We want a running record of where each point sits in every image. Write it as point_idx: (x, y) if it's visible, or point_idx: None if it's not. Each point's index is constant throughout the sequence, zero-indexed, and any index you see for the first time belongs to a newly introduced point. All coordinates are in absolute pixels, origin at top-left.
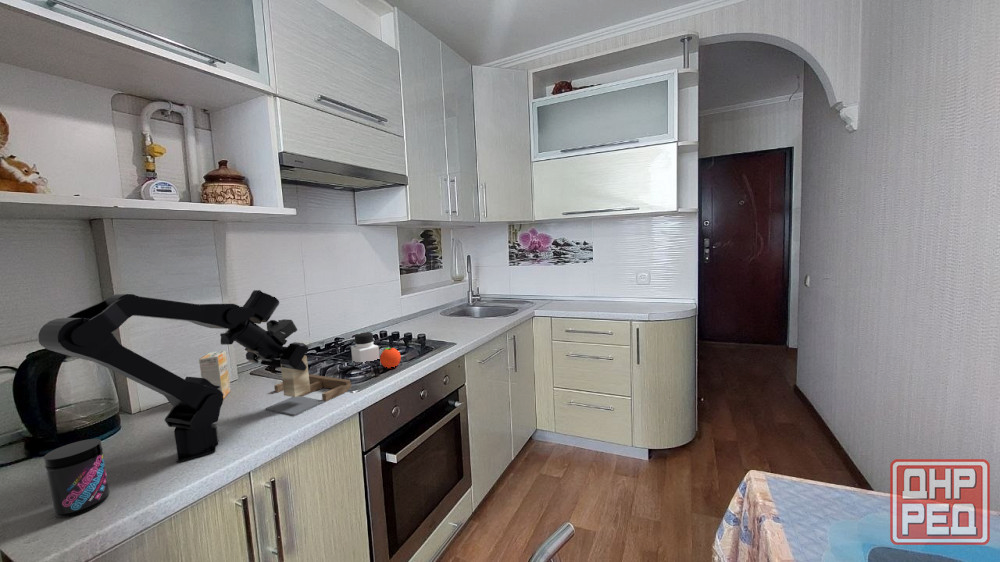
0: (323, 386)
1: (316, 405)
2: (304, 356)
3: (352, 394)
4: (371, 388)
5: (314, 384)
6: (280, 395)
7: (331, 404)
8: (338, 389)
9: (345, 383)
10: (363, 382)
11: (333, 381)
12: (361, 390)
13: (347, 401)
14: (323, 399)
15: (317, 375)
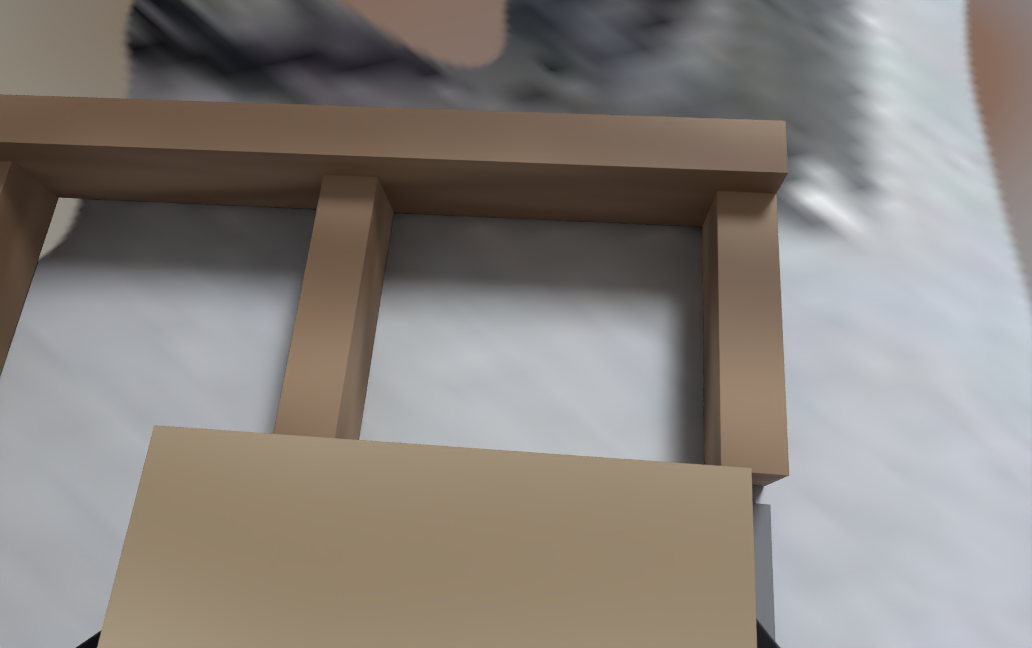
0: (408, 206)
1: (769, 619)
2: (753, 564)
3: (874, 265)
4: (927, 104)
5: (364, 264)
6: (76, 488)
7: (898, 535)
8: (779, 300)
9: (770, 183)
10: (707, 16)
11: (570, 174)
12: (872, 165)
13: (998, 422)
14: None
15: (245, 105)
